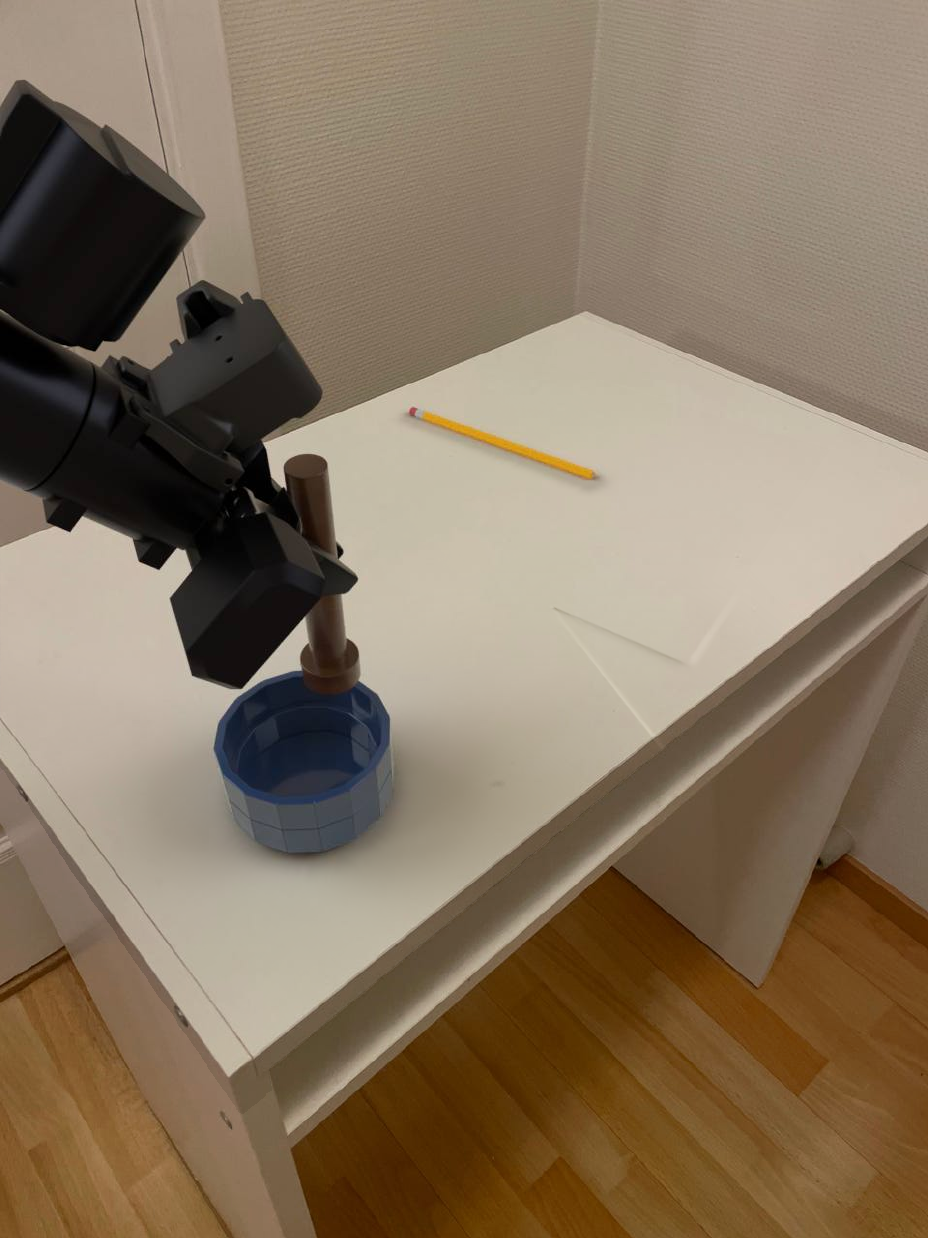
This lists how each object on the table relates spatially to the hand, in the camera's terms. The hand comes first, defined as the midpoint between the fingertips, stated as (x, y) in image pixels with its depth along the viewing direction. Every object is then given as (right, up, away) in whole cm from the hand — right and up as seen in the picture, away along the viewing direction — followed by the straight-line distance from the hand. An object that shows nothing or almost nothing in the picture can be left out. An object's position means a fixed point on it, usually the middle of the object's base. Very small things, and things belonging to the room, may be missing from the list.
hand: (345, 570), depth 48 cm
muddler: (-1, -6, +4) cm, 7 cm away
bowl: (-3, -12, +7) cm, 14 cm away
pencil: (+9, +12, +34) cm, 37 cm away
